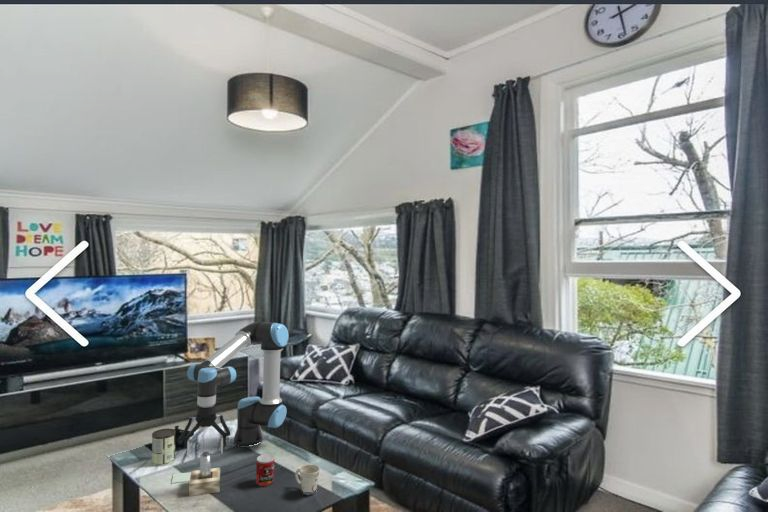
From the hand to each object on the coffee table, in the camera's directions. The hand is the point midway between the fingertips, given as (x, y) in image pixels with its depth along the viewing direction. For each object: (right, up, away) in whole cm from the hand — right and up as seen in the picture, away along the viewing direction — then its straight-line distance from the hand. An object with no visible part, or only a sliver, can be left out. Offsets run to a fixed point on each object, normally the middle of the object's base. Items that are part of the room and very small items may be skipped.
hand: (205, 453), depth 202 cm
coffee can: (-29, -14, +23) cm, 40 cm away
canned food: (+24, -15, +6) cm, 29 cm away
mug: (+43, -16, -1) cm, 46 cm away
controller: (-28, -14, +41) cm, 51 cm away
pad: (-13, -14, +8) cm, 21 cm away
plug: (0, -15, 0) cm, 15 cm away
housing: (0, -15, 0) cm, 15 cm away
